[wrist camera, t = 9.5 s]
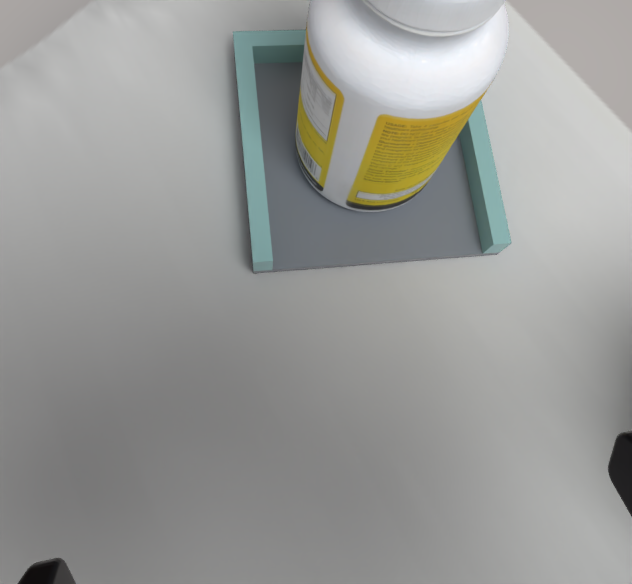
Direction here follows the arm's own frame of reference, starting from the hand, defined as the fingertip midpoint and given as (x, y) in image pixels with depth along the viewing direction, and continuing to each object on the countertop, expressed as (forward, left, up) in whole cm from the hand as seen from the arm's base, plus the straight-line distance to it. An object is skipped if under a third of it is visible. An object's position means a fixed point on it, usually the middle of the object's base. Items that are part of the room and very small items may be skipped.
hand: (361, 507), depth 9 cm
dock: (+2, -14, -14) cm, 20 cm away
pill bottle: (+2, -14, -13) cm, 19 cm away
